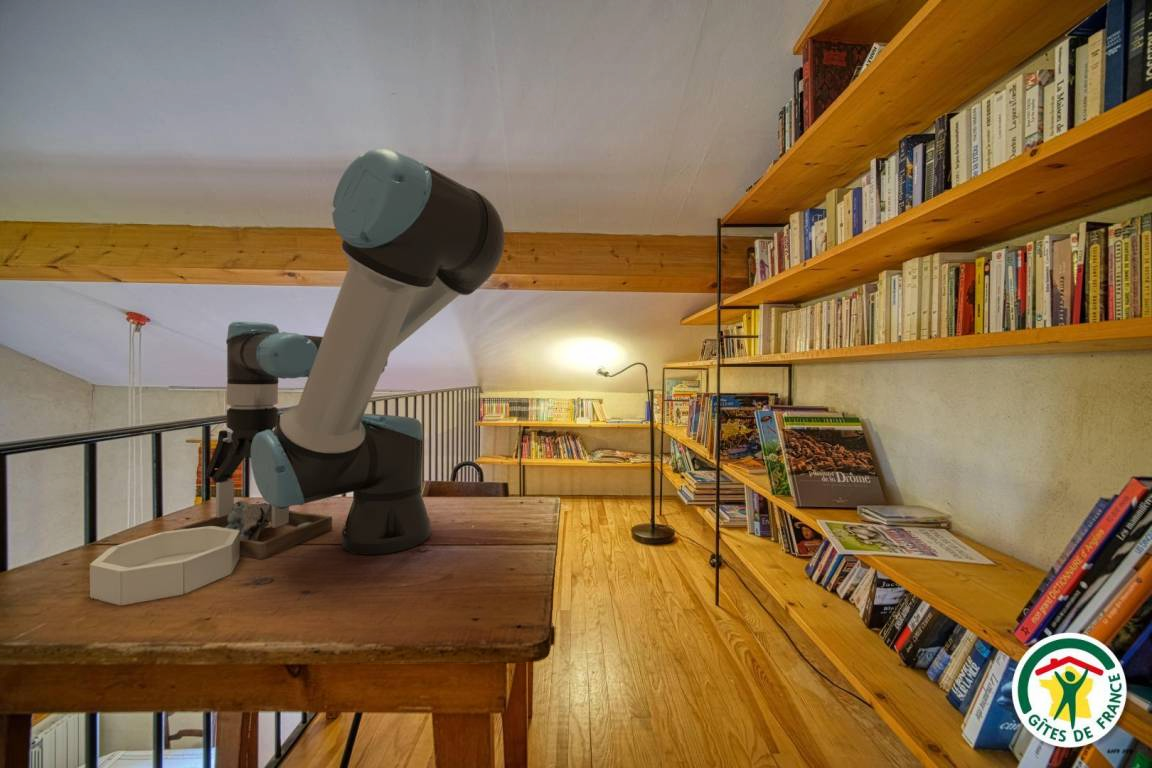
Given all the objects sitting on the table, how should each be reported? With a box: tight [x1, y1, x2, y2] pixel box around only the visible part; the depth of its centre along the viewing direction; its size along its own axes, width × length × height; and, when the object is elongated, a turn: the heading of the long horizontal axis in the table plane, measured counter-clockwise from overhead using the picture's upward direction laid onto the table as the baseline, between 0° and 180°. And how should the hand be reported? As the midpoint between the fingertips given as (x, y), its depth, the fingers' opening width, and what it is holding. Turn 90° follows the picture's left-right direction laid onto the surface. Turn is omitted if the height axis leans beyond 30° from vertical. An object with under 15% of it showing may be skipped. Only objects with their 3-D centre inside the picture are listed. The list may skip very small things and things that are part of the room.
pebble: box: [296, 522, 313, 529], centre depth 81 cm, size 3×3×2 cm
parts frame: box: [173, 510, 333, 560], centre depth 78 cm, size 20×14×2 cm
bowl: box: [89, 526, 241, 606], centre depth 63 cm, size 15×15×4 cm
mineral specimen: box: [225, 500, 272, 541], centre depth 77 cm, size 10×8×10 cm
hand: (251, 520), depth 79 cm, fingers open, 13 cm apart
